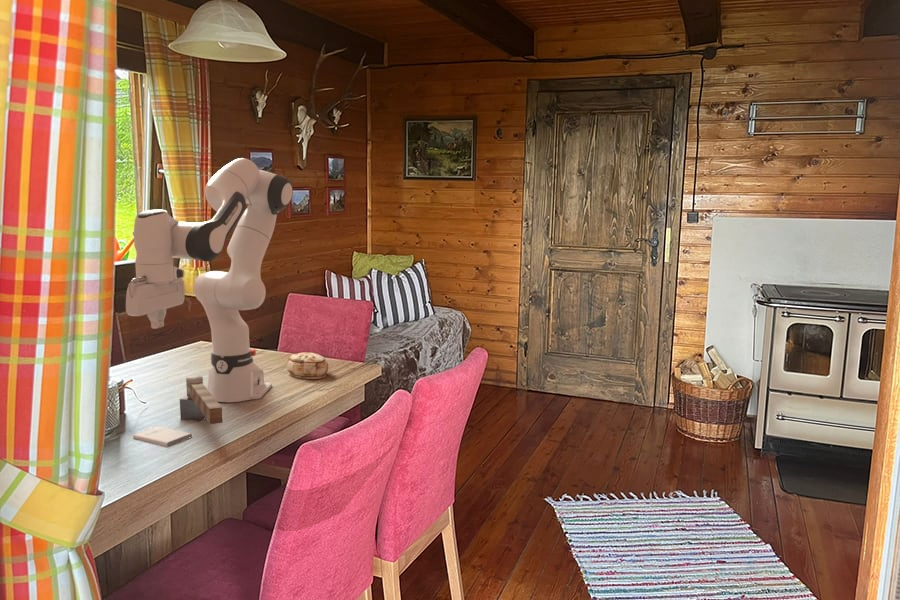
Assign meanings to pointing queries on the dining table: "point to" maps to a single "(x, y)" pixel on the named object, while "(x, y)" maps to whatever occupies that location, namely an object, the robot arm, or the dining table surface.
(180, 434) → the external hard drive
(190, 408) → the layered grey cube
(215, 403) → the walnut swing arm
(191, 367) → the dining table surface
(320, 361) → the trinket box
